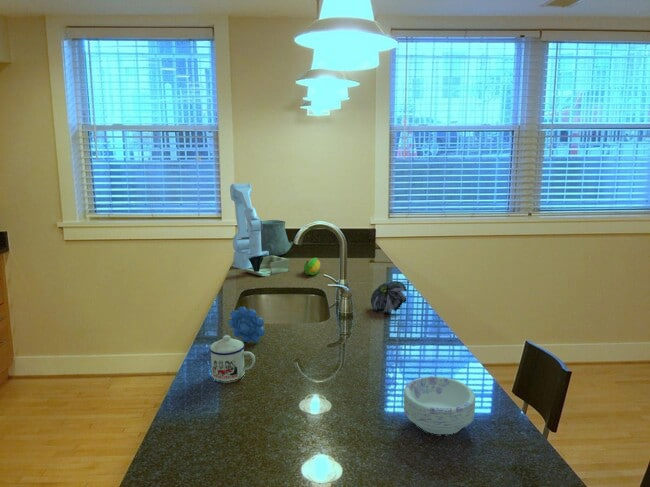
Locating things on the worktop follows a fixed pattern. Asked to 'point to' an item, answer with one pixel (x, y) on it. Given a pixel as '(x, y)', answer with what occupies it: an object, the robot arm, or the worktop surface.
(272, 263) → the crate
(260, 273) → the tailgate
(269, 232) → the vessel
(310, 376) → the worktop surface
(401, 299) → the decorative flower
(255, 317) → the blue flower ornament
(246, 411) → the worktop surface
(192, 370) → the worktop surface
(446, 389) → the paper bowls
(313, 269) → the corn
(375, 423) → the worktop surface
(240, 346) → the teacup with lid
